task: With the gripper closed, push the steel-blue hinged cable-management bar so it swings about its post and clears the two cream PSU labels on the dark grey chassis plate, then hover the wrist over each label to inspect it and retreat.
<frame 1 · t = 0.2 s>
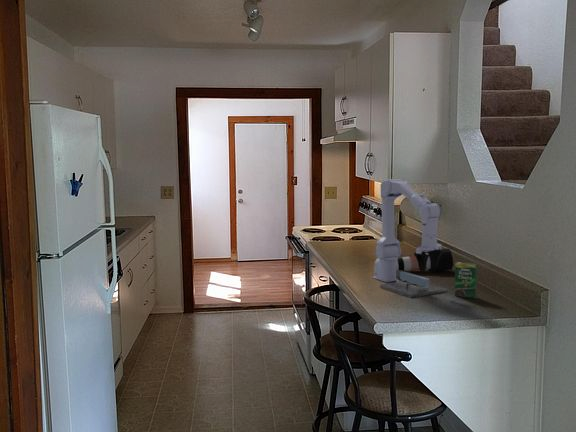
hand: (428, 269, 209), 10 cm above the counter, fingers open, 7 cm apart
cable: (413, 272, 250), on the counter
chassis: (412, 289, 218), on the counter
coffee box: (465, 297, 207), on the counter
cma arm: (411, 278, 217), point 5 cm above the counter, hinge at 0.0°
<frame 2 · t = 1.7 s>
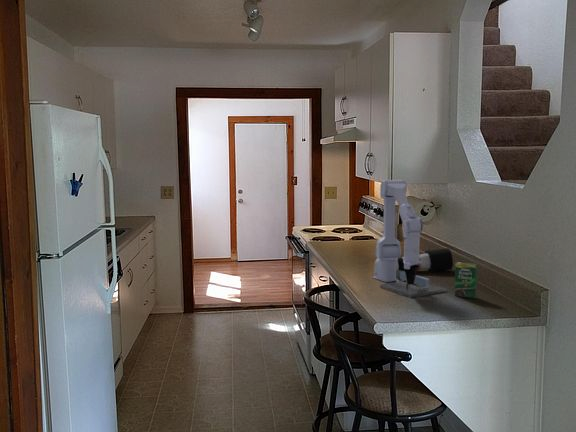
hand: (410, 283, 208), 5 cm above the counter, fingers closed
nothing on the counter moved.
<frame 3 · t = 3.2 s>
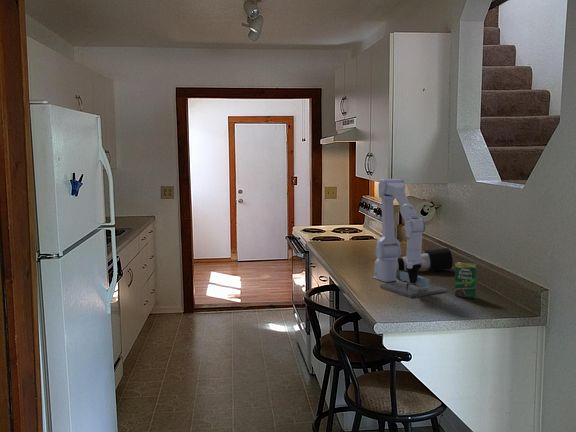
hand: (413, 282, 212), 4 cm above the counter, fingers closed
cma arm: (411, 278, 217), point 5 cm above the counter, hinge at 0.0°, touching gripper
everything else where it was.
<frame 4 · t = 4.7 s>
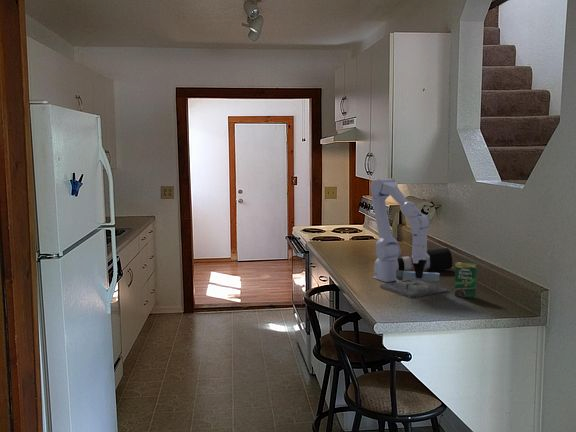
hand: (419, 277, 219), 4 cm above the counter, fingers closed, pressing on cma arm
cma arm: (417, 275, 221), point 5 cm above the counter, hinge at 45.3°, touching gripper
everything else where it was.
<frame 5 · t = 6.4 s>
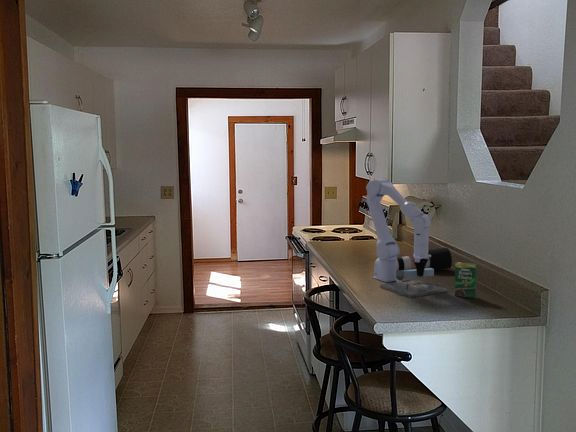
hand: (420, 276, 223), 4 cm above the counter, fingers closed
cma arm: (414, 273, 225), point 5 cm above the counter, hinge at 79.4°, touching gripper
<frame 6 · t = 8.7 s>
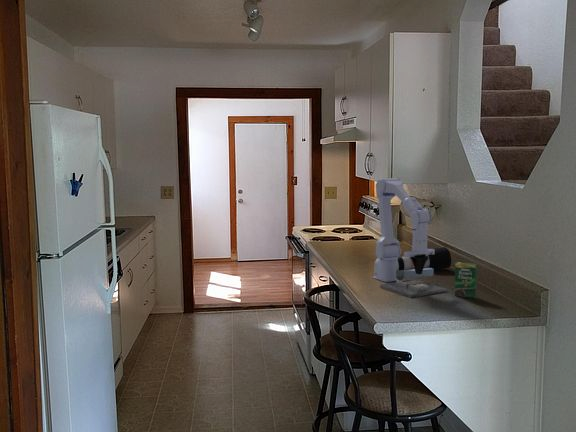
hand: (418, 273, 213), 7 cm above the counter, fingers closed
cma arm: (414, 273, 225), point 5 cm above the counter, hinge at 80.5°
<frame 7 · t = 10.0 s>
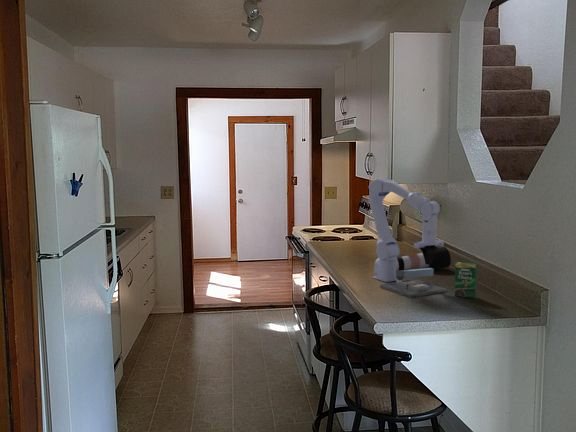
hand: (428, 264, 219), 10 cm above the counter, fingers closed
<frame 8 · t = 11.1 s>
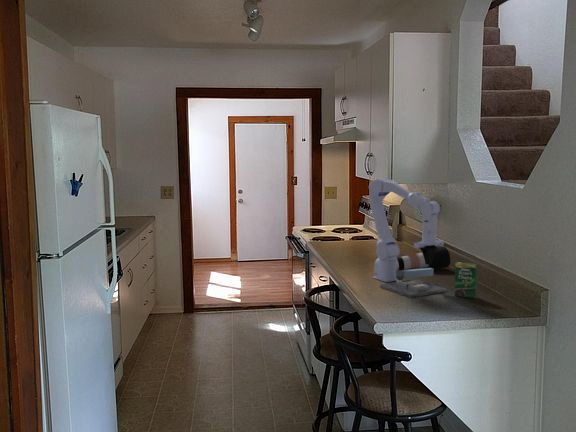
hand: (428, 264, 219), 10 cm above the counter, fingers closed
at the end: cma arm at +80° (first picture: +0°) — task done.
